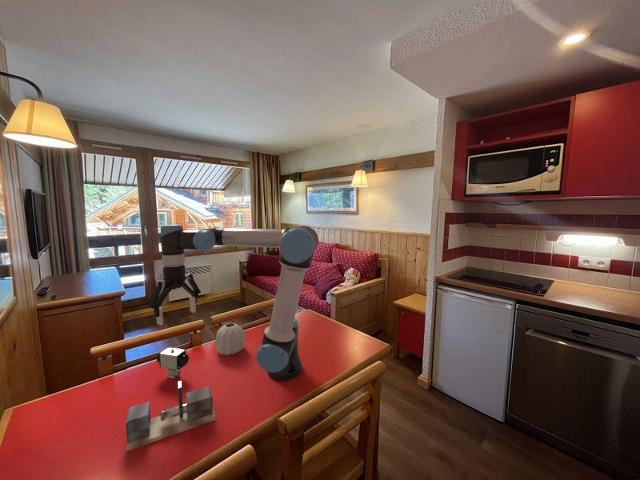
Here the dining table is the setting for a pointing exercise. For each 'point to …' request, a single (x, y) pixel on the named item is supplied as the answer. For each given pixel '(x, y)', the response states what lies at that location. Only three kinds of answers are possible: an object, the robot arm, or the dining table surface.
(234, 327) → the vase
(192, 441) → the dining table surface
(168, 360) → the pneumatic valve
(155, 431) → the base
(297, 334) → the robot arm
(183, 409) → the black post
